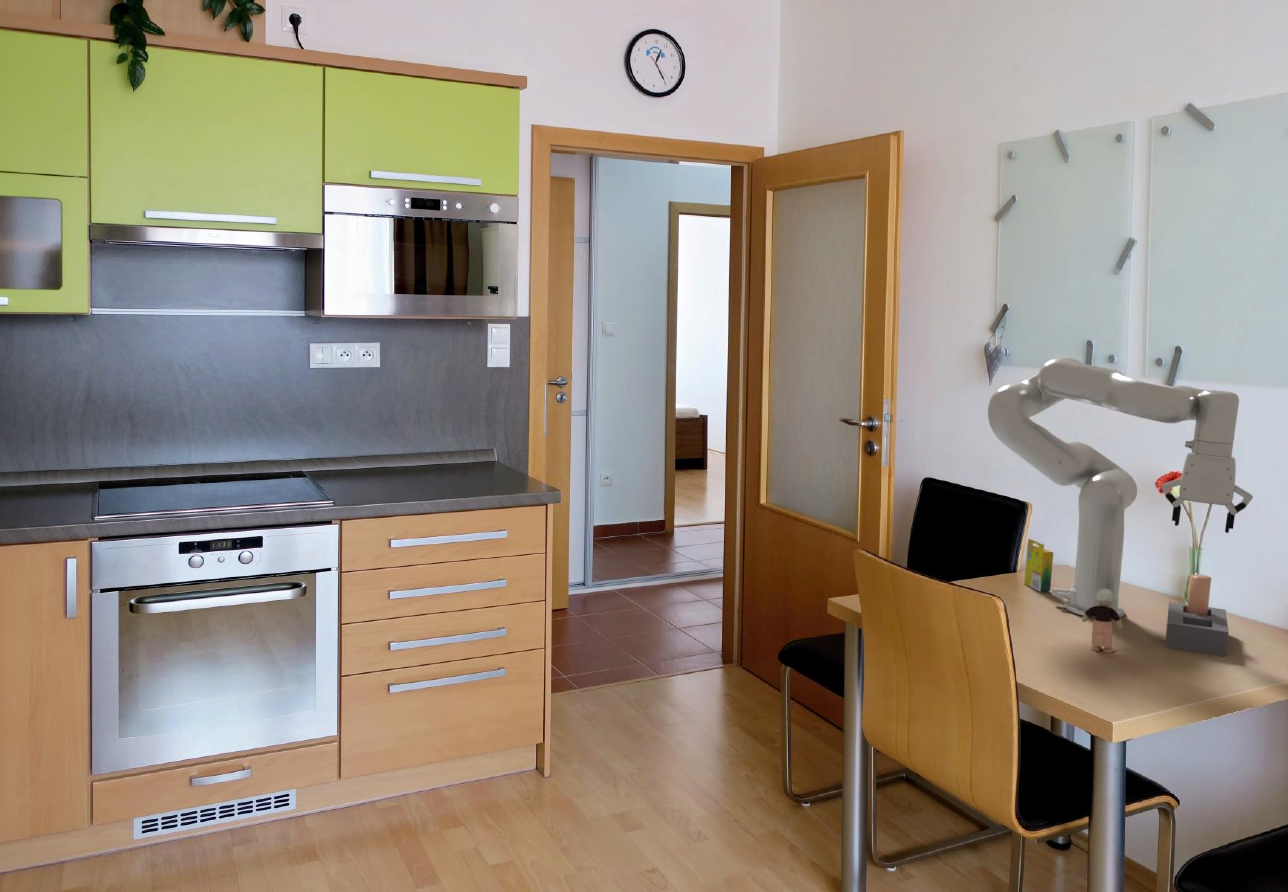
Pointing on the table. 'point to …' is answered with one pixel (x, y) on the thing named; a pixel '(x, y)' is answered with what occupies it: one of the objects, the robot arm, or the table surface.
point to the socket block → (1197, 630)
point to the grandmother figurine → (1102, 621)
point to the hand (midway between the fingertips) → (1201, 528)
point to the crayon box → (1038, 567)
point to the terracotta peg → (1198, 594)
